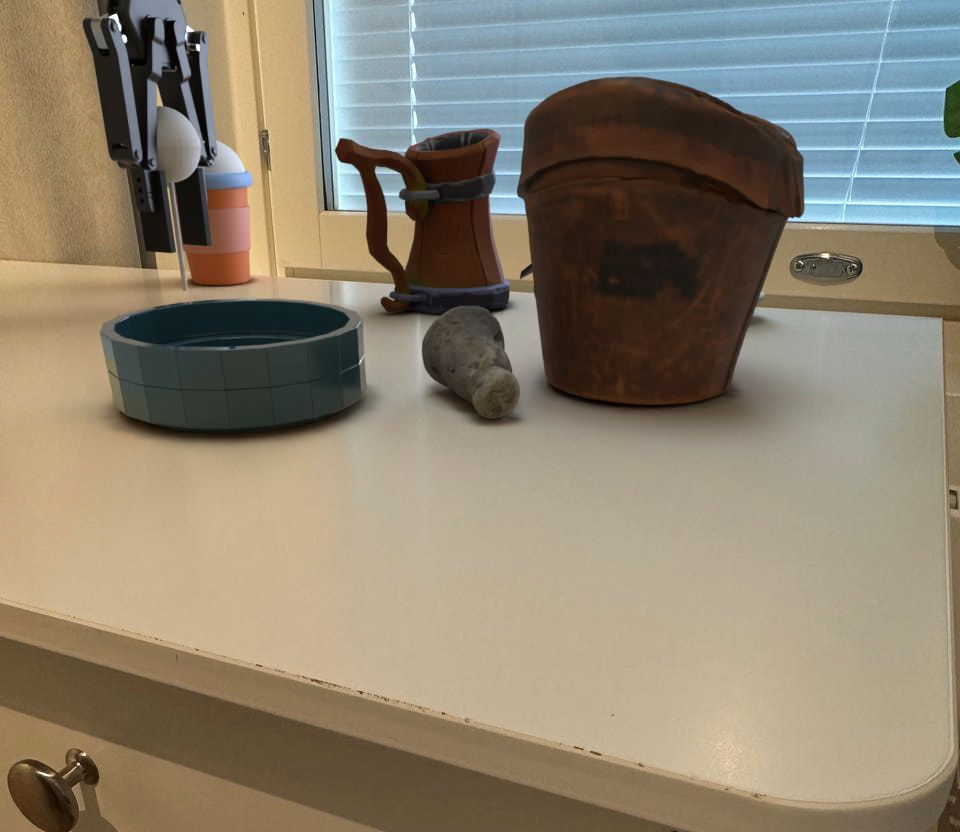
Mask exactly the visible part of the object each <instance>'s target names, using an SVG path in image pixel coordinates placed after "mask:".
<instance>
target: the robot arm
mask: <svg viewBox="0 0 960 832" xmlns="http://www.w3.org/2000/svg"><path fill="white" fill-rule="evenodd" d="M104 12H105V13H104V14H103V15H100V16H99V17H84V18H83V20H82V28H83V31H84V34H85V37H86V40H87V42H88V46H89V49H90V51H91V54H92V59H93V65H94V71H95V79H96V83H97V89H98V90H97V91H98V96H99V101H100V102H99V103H100V109H101V114H102V115H101V116H102V120H103V126H104V127H103V128H104V132H105V139H106V145H107V152H108V155H109V158H110V160H112V161H113V162H116V163H117V165H118V167H119V168H120V169H122V170H129V171H130V176H131V182H132V189H133V193H134V199H135V206H136V209H137V211H138V212H139V219H140V223H141V230H142V231H141V232H142V237H143V244H144V251H145V252H151V253H161V254H162V253H163V254H174V253H177V246H176V239H175V232H174V225H173V218H172V211H171V204H170V197H169V189H168V187H167V183H166V176H165V171H159V170H155V169H156V167H157V106H158V93H159V96H160V100H161V104H162V106H164V107H169V108H172V109H174V110H176V111H178V112H180V113H181V114H182V115H184V116H185V117H186V118H187V119H188V120H189V121H190V123H191V124H192V125H193V127H194V129H195V130H196V132H197V134H198V136H199V138H200V143H201V153H200V159H199V163H198V165H197V167H196V169H195V171H194V172H193V173H192V174H191V175H190V176H189V177H188V178H186V179H184V180H182V181H179V182H175V190H176V197H177V204H178V212H179V219H180V226H181V234H182V241H183V244H186V245H199V246H211V245H212V242H211V234H210V226H209V217H208V209H207V192H206V183H205V175H204V167H213V166H214V158H216V157H217V143H216V141H217V135H216V127H215V118H214V110H213V109H214V108H213V101H212V93H211V84H210V83H211V82H210V75H209V65H208V57H209V56H208V55H209V44H210V43H209V36H208V34H207V32H206V31H205V30H194V29H193V28H191V27H190V26H189V25H188V23H187V22H188V21H187V17H186V15H185V12H184V9H183V4H182V1H181V0H105V8H104ZM157 92H158V93H157ZM203 141H205V143H203ZM142 150H143V151H142Z"/></svg>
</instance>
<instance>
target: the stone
mask: <svg viewBox="0 0 960 832" xmlns="http://www.w3.org/2000/svg"><path fill="white" fill-rule="evenodd" d="M505 350H506V344H505V336H504V331H503V329H502V326H501V324H500V322H499V321H498V318H497V317H495V316H494V315H493V314H492V312H491V311H490V310H489V309H488V310H487V309H485V308H483V307H478V306H460V307H456V308H453V309H450V310H448V311H447V312H445V313H444V314H440V315H439V316H438V317H437V318H435V319H434V321H433V322H432V323H431V325H430V326H429V328H428V329H427V331H426V333H425V334H424V336H423V338H422V343H421V357H422V362H423V366H424V368H425V371H426V373H427V374H428V376H429V377H430V378H431V379H432V380H433V381H435V382H437V384H439V385H442V386H444V387H446V388H449V389H451V390H452V392H454V393H455V394H457V396H459V397H460V398H462V399H463V400H465V401H467V402H469V403H471V404H472V406H473V407H474V409H475V411H476V412H477V414H479V415H480V416H481V417H482V418H486V419H489V420H497V419H503V418H505V417H507V416H508V415H509V414H510V413H511V412H512V411H513V410H514V408H515V407H516V406H517V405H518V402H519V399H520V395H521V388H520V385H519V382H518V379H517V377H516V376H515V375H514V373H513V366H512V364H511V361H510V360H511V359H510V358H509V356H508V354H507V352H506V351H505Z"/></svg>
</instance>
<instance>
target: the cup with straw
mask: <svg viewBox="0 0 960 832" xmlns="http://www.w3.org/2000/svg"><path fill="white" fill-rule="evenodd" d="M203 143H205V141H203ZM216 143H217V157H216V158H214V166H213V167H204V175H205V183H206V192H207V209H208V217H209V226H210V234H211V242H212V245H211V246H199V245H186V244H183V241H182V234H181V226H180V219H179V212H178V204H177V197H176V190H175V182H173V183H174V191H175V198H176V205H177V213H178V220H179V227H180V235H181V242H182V250H183V252H185V256H186V261H187V264H188V269H189V273H190V277H191V280H192V282H193V283H194V284H197V285H201V286H232V285H234V286H235V285H239V284H245V283H248V282H249V281H250V279H251V276H250V275H251V272H250V268H251V267H250V250H251V249H252V248H251V247H252V246H251V245H252V243H251V242H252V241H251V213H250V211H251V209H250V205H249V204H248V188H250V187H252V186H253V181H254V180H253V176H252V174H251V172H250V171H248V170H246V169H245V167H244V164H243V162H242V160H241V159H240V157H239V156H238V154H237V153H236V152H235V151H234V150H233V149H232V148H231V147H230V146H228V145H226V144H225V143H223V142H221V141H219V140H216ZM166 183H167V189H169V186H168V182H166Z"/></svg>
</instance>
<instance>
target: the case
mask: <svg viewBox="0 0 960 832" xmlns="http://www.w3.org/2000/svg"><path fill="white" fill-rule="evenodd" d="M804 161H805V160H804V156H803V154H802V153H801V152H800V151H799V150H798V146H797V142H796V140H795V138H794V136H793V135H792V134H791V132H789V131H788V130H786V129H785V128H783V127H782V126H781V125H778V124H776V123H774V122H771V121H770V120H767V119H764V118H763V117H759V116H758V115H757V116H756V115H753V114H750V113H746V112H743V111H741V110H739V109H736V108H735V107H734V106H733V105H731V104H730V103H729V102H725V101H724V100H722V99H720V98H719V97H717V96H714V95H712V94H709V93H708V92H707V91H703V90H699V89H696V88H695V87H692V86H689V85H685V84H681V83H677V82H674V81H673V82H672V81H670V80H669V81H668V80H663V79H660V78H659V79H658V78H653V77H649V76H648V77H647V76H613V77H612V76H610V77H609V76H608V77H606V76H605V77H600V78H594V79H588V80H584V81H581V82H578V83H575V84H573V85H570V86H567V87H565V88H563V89H560V90H558V91H556V92H554V93H552V94H550V95H549V96H547V97H546V98H544V99H543V100H542V101H540V103H538V104H537V105H536V106H535V107H534V108H533V109H532V110H531V111H530V112H529V114H528V115H527V117H526V118H525V121H524V126H523V145H522V152H521V161H520V163H521V164H520V174H519V177H518V184H517V187H516V195H517V198H520V199H522V200H523V203H524V210H525V215H526V222H527V231H528V232H527V233H528V243H529V253H530V254H529V255H530V262H531V263H530V264H529V265H527V266H526V267H525V268H524V269H522V270H521V271H520V274H519V280H522V279H523V278H525V277H527V276H529V275H530V274H532V280H533V294H534V299H535V305H536V314H537V315H536V316H537V321H538V331H539V339H540V347H541V355H542V362H543V368H544V370H543V371H544V375H545V378H546V380H547V382H548V383H549V384H550V385H551V386H552V387H554V388H556V389H558V390H559V391H562V392H565V393H566V394H570V395H573V396H575V397H580V398H584V399H587V400H588V399H589V400H594V401H602V402H610V403H614V404H615V403H617V404H626V405H642V406H643V405H645V406H647V405H648V406H649V405H651V406H652V405H653V406H656V405H679V404H689V403H695V402H700V401H704V400H707V399H710V398H713V397H715V396H718V395H721V394H723V393H726V392H727V391H728V390H729V389H731V386H732V384H733V378H734V375H735V374H734V373H735V369H736V365H737V363H738V360H739V356H740V353H741V350H742V347H743V344H744V341H745V339H746V334H747V332H748V330H749V327H750V325H751V322H752V318H753V316H754V313H755V311H756V308H757V306H758V305H757V302H758V299H759V296H760V293H761V291H763V288H764V285H765V282H766V280H767V277H768V273H769V272H770V268H771V265H772V263H773V260H774V256H775V254H776V252H777V248H778V245H779V242H780V240H781V238H782V234H783V232H784V229H785V227H786V225H787V222H788V220H789V219H794V218H798V219H800V218H802V216H803V215H804V213H805V206H806V205H805V204H806V203H805V178H804V170H805V169H804V165H805V163H804ZM756 305H757V306H756Z"/></svg>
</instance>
